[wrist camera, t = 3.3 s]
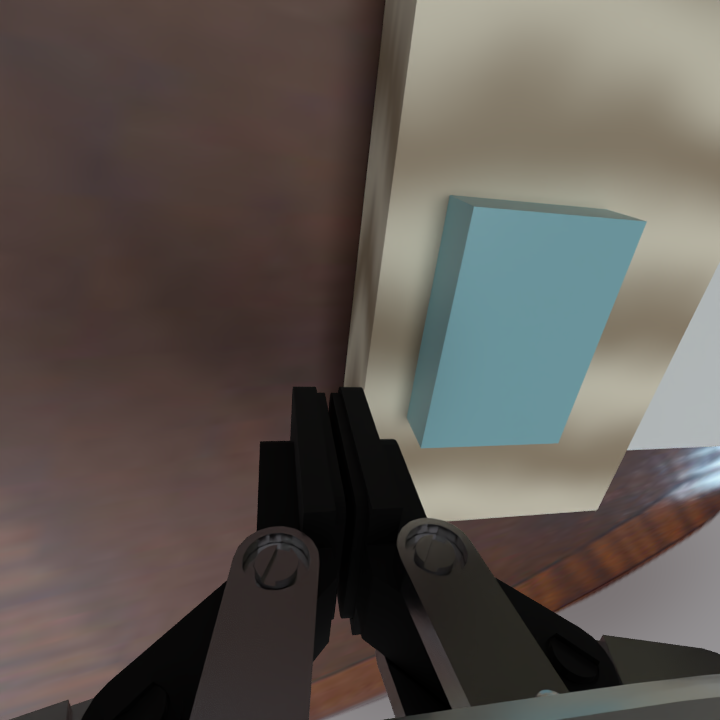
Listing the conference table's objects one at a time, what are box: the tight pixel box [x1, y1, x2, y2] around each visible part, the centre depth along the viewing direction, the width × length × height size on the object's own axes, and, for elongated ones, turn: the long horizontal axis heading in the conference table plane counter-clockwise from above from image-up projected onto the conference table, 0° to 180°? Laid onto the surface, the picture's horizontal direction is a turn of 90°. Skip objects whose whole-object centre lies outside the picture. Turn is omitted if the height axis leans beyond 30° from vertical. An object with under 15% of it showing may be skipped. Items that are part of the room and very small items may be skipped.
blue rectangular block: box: [407, 195, 647, 448], centre depth 17 cm, size 9×6×2 cm, turn 174°
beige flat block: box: [344, 0, 720, 521], centre depth 20 cm, size 22×14×4 cm, turn 174°
